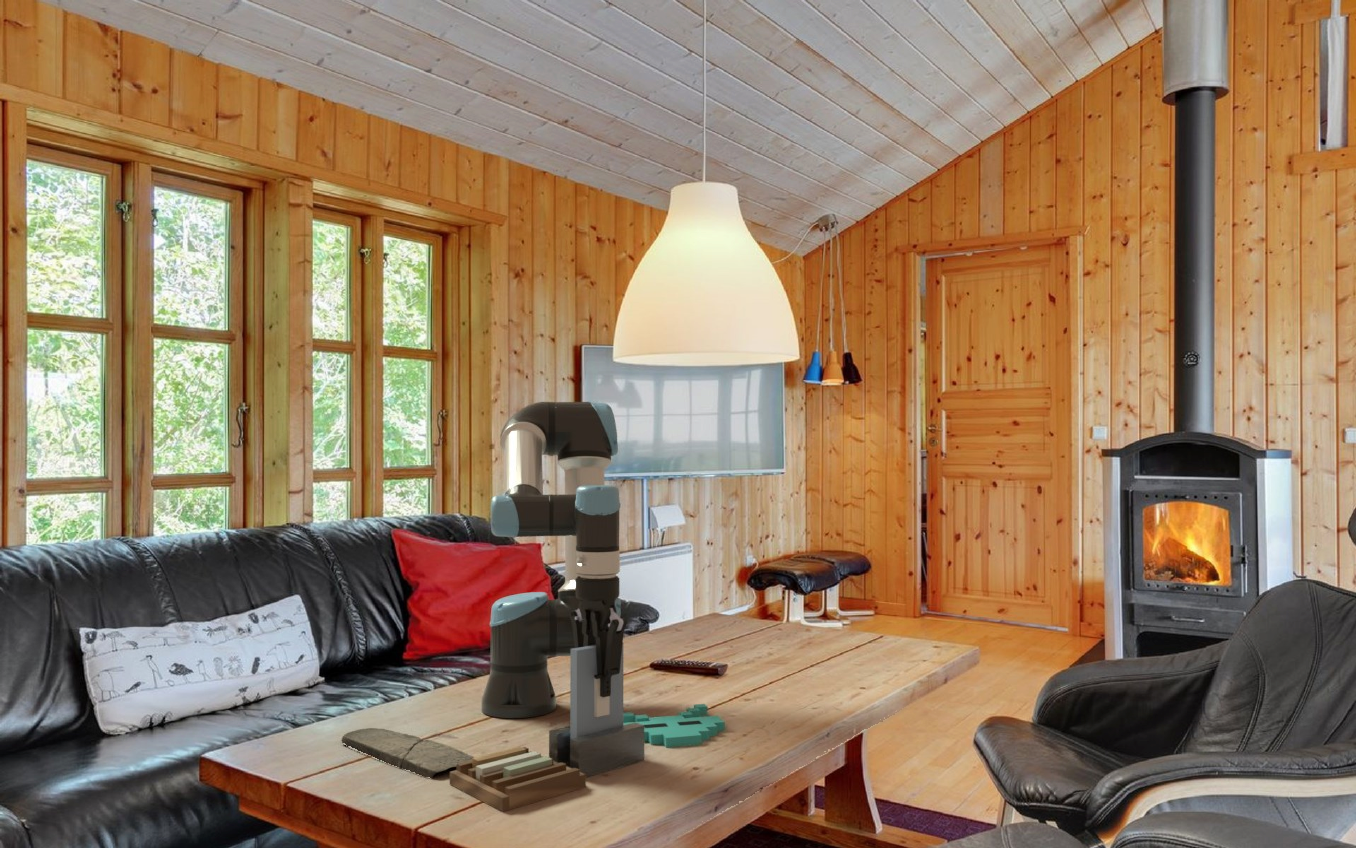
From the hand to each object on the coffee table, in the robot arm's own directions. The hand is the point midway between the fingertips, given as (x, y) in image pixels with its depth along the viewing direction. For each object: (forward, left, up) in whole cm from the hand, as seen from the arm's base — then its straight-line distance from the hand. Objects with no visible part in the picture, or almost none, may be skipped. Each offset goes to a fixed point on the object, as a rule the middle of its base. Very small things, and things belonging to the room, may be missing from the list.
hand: (597, 713), depth 165 cm
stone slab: (-27, -22, -9) cm, 35 cm away
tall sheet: (0, 0, -5) cm, 5 cm away
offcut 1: (-6, -16, -9) cm, 19 cm away
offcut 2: (-2, -16, -9) cm, 19 cm away
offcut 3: (+2, -15, -9) cm, 18 cm away
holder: (0, 0, -9) cm, 9 cm away
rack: (0, -16, -9) cm, 18 cm away
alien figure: (-6, +22, -9) cm, 25 cm away
